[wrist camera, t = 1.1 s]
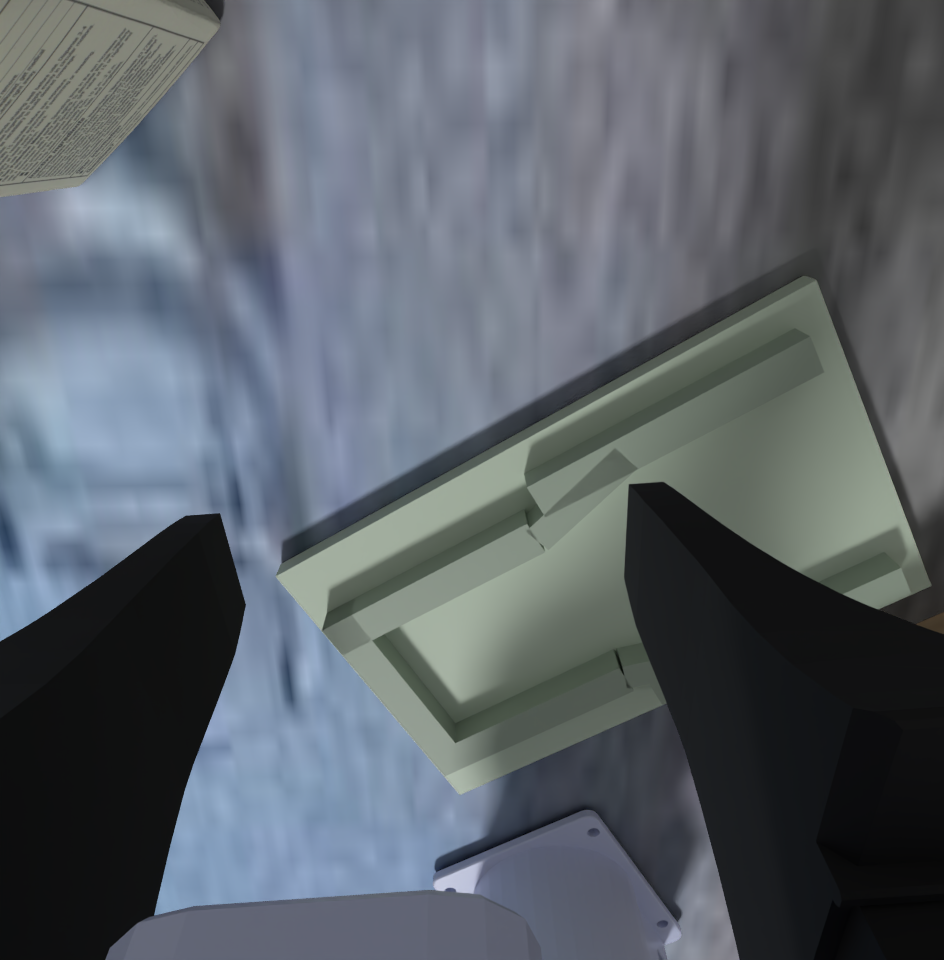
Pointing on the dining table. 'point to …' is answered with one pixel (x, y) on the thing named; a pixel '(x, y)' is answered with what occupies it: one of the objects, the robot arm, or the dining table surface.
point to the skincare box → (85, 80)
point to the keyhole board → (605, 538)
